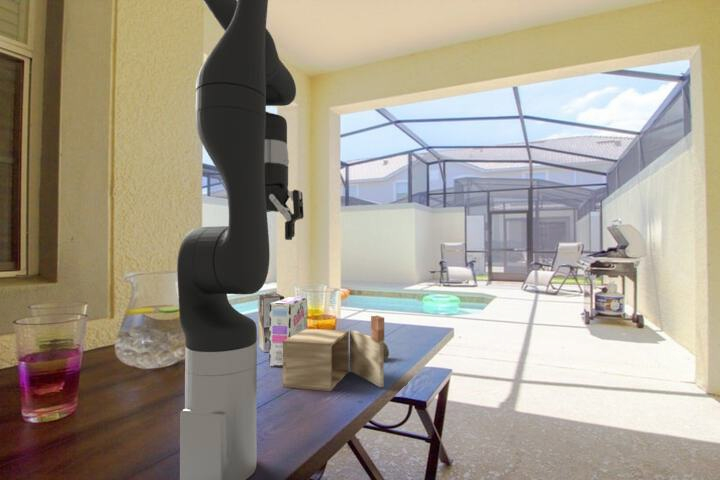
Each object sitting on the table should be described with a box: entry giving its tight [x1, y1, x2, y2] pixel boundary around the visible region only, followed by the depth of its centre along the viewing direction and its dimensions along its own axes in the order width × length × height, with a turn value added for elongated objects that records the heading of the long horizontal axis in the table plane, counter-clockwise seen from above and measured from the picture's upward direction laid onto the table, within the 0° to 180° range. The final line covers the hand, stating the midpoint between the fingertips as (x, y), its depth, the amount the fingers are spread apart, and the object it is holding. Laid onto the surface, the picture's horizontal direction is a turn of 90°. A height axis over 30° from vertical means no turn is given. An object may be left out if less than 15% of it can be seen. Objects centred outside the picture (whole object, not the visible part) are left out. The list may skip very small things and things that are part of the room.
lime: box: [383, 341, 390, 362], centre depth 110 cm, size 4×5×5 cm
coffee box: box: [257, 293, 285, 353], centre depth 123 cm, size 9×6×16 cm
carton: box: [282, 328, 350, 392], centre depth 94 cm, size 14×11×10 cm
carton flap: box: [349, 315, 385, 388], centre depth 93 cm, size 14×2×15 cm, turn 29°
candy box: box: [268, 296, 308, 368], centre depth 110 cm, size 14×6×16 cm, turn 168°
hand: (270, 239), depth 87 cm, fingers open, 8 cm apart
